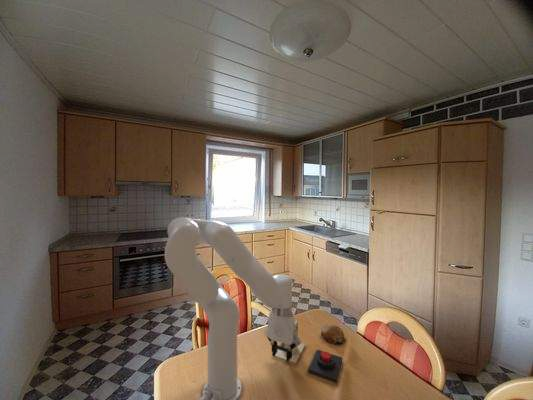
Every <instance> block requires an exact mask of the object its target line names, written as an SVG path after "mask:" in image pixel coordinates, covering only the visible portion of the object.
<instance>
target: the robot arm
mask: <svg viewBox="0 0 533 400" xmlns="http://www.w3.org/2000/svg"><path fill="white" fill-rule="evenodd" d="M167 236H168V239H167V241H166V244H165V247H164V261H165V264H166V267H167V268H168V269H169V271H170V272H171V274H172V275H173V276H174V278H175V279H176V280H177V282H178V283H179V284H180V285H181V287H182V288H183V289H184V290H185V291H186V293H187V294H188V296H189V298H190V299H191V300H192V301H193V302H195V303H197V304H198V305H199V306H200V307H201V308H202V310H203V312H204V313H205V315H206V318H207V321H208V332H207V381H206V383H205V384H204V386H203V389H202V397H200V398H199V400H237V399H239V397H240V395H241V393H242V389H243V388H242V387H243V386H242V382H241V381H240V379H239V378H238V329H239V323H240V308H239V306H238V304H237V302H236V301H235V300H234V299H233V297H232V296H231V295H230V294H229V293H228V292H227V291H226V290H225V288H224V287H223V286H222V285H221V283H220V282H219V281H218V279H217V278H216V276H215V275H214V273H213V272H212V271H211V270H210V269H209V268H208V267H207V266H206V265H205V264H204V262H203V261H202V260H201V258H200V257H199V256H198V254H197V251H196V250H197V246H198V244H199V245H210V246H211V247H212V248H213V250H214V251H215V252H216V253H217V254H218V256H219V257H220V258H221V259H222V260H223V262H224V263H225V264H226V265H227V267H229V269H230V270H231V271H232V273H234V274H235V275H236V276H237V277H238V278H239V279H240V280H242V282H244V283H245V284H246V285H247V286H248V287H249V290H250V292H251V294H252V295H253V296H254V297H255V298H256V299H257V300H259V302H260V303H262V304H263V305H264V306H265V307H267V308H270V309H271V310H270V311H269V313H268V314H269V315H268V320H267V328H266V329H265V330H264V331H263V334H264V336H265V337H266V338H267V340H268V341H269V343H270V345H271V355H272V357H276V356H275V354H276V353H277V350H278V349H276V348H275V345H278V343H280V344H281V343H284V344H287V348H288V349H287V351H286V360H285V361H286V362H289V360H290V358H292V349H293V348H295V347H296V346H298V345H300V343H301V344H302V341H301V339H300V338H299V335H298V336H297V334H296V326H295V321H296V318H295V314H294V312H293V279H292V277H291V276H289V275H288V274H284V273H283V274H276V275H271V273H270V272H269V271H268V270H267V269H266V268H265V266H264V265H262V263H261V262H260V261H259V260H258V258H256V256H254V255H253V253H252V252H251V251H250V250H249V248H248V247H247V246H246V245H245V243H244V242H243V241H242V239H241V238H240V237H239V236H238V235H237V233H236V232H235V230H234V229H233V228H232V227H231V226H230V225H229V224H227V223H224V222H221V221H218V220H217V221H216V220H208V219H199V218H192V217H185V216H181V217H176V218H174V219H172V220H171V221H170V222H169V224H168V226H167ZM293 340H295V342H293Z"/></svg>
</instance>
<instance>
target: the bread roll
mask: <svg viewBox="0 0 533 400" xmlns="http://www.w3.org/2000/svg"><path fill="white" fill-rule="evenodd" d="M320 334H321V337H322V339H323V340H324V341H325V343H327V344H329V345H334V346H335V345H337V346H339V345H340V344H342V343H343V342H344V341H345V334H344V330H343V329H342V328H341V327H340V326H339V325H337V324H334V323H329V324H325V325H324V326H323V327H322V329H321V333H320Z"/></svg>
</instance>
